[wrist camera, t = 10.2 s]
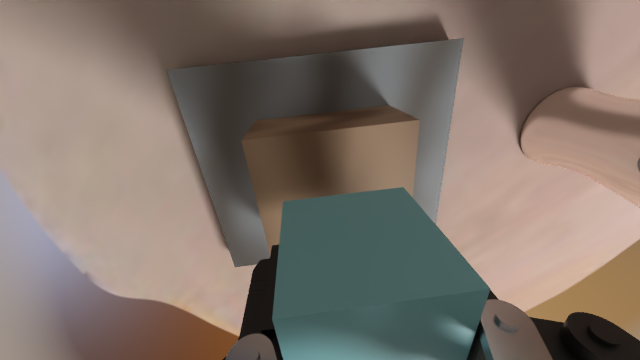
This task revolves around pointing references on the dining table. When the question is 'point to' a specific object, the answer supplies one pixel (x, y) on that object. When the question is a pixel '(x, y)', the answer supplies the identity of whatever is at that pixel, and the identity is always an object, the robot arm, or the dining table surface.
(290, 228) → the teal cube
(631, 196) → the beer glass
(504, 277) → the dining table surface
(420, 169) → the stacking base
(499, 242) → the dining table surface
